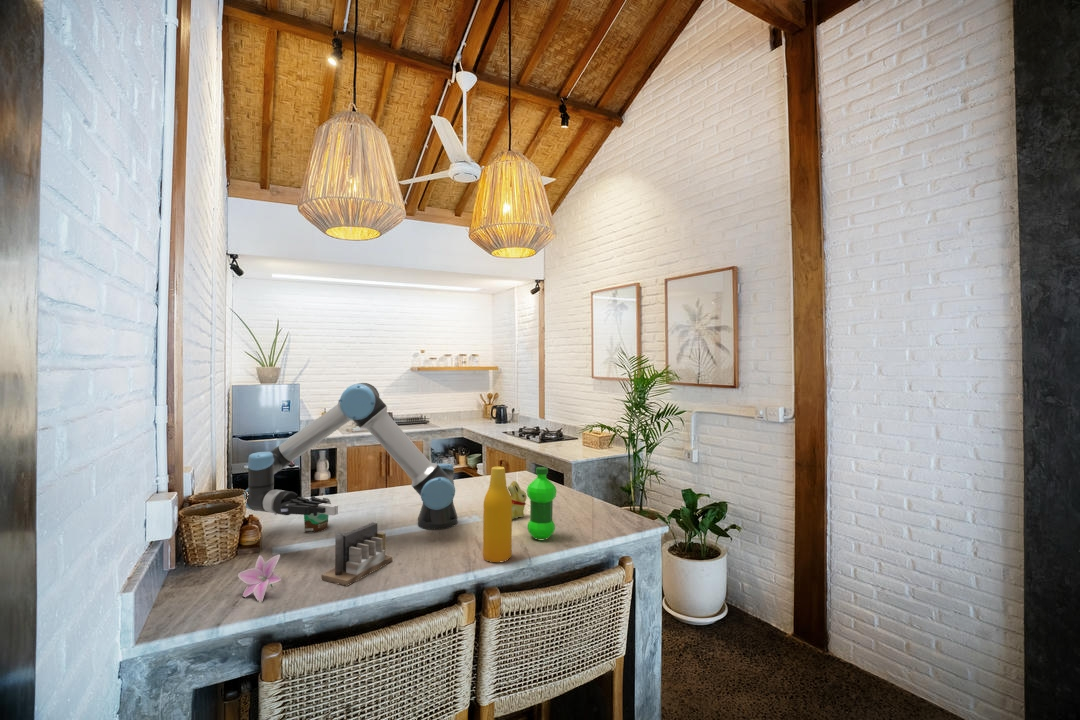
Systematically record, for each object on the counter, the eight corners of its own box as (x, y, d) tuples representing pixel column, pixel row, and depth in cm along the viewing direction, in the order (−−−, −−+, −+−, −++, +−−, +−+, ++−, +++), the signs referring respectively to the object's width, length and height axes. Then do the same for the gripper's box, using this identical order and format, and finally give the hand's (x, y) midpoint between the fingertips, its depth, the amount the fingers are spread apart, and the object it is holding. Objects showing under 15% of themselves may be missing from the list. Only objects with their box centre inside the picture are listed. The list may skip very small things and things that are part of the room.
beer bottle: (487, 565, 156) (488, 472, 156) (479, 554, 165) (480, 466, 165) (515, 560, 160) (516, 469, 160) (505, 550, 168) (506, 464, 168)
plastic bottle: (527, 532, 186) (528, 465, 186) (555, 533, 186) (556, 465, 186) (525, 542, 176) (526, 471, 176) (555, 543, 176) (556, 471, 175)
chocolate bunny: (529, 517, 204) (530, 480, 204) (506, 522, 197) (506, 484, 197) (520, 513, 209) (520, 477, 209) (497, 517, 203) (498, 480, 203)
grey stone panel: (345, 570, 146) (345, 536, 146) (340, 569, 147) (340, 535, 147) (377, 555, 158) (377, 523, 158) (372, 554, 159) (373, 522, 159)
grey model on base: (346, 586, 141) (347, 539, 141) (321, 579, 145) (321, 534, 145) (392, 561, 158) (392, 520, 158) (368, 556, 162) (368, 516, 162)
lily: (236, 593, 138) (225, 570, 134) (279, 565, 146) (270, 542, 141) (255, 620, 131) (244, 596, 127) (299, 589, 139) (290, 566, 134)
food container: (317, 535, 180) (317, 507, 180) (302, 534, 182) (302, 506, 182) (337, 524, 192) (338, 498, 192) (323, 523, 194) (323, 497, 194)
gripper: (298, 508, 173) (351, 516, 163) (263, 519, 160) (318, 529, 151) (298, 486, 173) (351, 493, 163) (263, 496, 160) (318, 504, 151)
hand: (335, 510), depth 157 cm, fingers closed
